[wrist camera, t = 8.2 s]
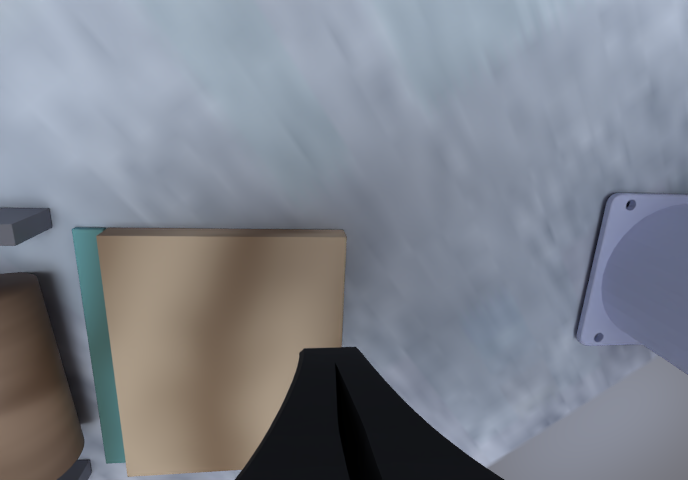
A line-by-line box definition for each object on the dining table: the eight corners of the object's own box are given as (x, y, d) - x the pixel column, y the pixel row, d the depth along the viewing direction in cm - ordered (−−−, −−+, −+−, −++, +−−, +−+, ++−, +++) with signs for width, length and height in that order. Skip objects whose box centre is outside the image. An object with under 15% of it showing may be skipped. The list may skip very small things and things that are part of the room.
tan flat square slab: (343, 229, 19) (346, 237, 18) (333, 446, 23) (335, 463, 22) (75, 227, 18) (60, 235, 17) (108, 458, 21) (98, 478, 20)
